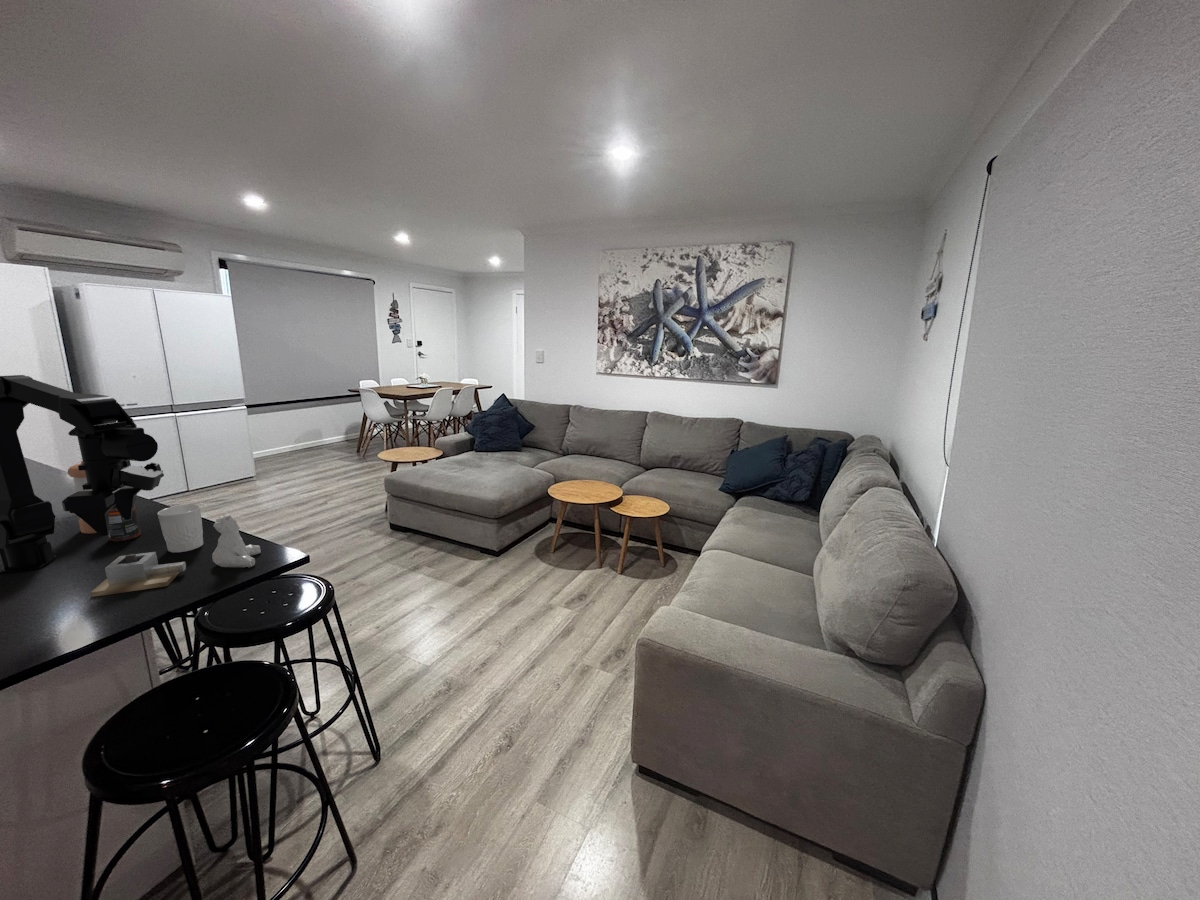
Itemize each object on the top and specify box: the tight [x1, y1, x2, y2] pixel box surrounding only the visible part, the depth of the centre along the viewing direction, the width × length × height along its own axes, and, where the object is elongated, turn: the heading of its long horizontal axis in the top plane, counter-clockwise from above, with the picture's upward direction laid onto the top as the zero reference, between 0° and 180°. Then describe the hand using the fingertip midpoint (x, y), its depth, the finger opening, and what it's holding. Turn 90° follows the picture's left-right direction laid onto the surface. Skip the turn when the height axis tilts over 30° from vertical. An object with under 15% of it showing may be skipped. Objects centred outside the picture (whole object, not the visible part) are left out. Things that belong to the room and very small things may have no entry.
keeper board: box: [90, 553, 187, 598], centre depth 100 cm, size 12×10×6 cm
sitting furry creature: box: [211, 513, 261, 568], centre depth 108 cm, size 10×9×12 cm
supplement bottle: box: [107, 503, 142, 543], centre depth 120 cm, size 6×6×11 cm
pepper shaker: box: [66, 460, 98, 534], centre depth 124 cm, size 7×7×19 cm
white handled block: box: [104, 551, 187, 586], centre depth 101 cm, size 12×6×4 cm, turn 114°
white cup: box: [156, 504, 204, 553], centre depth 116 cm, size 8×8×10 cm
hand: (116, 527), depth 100 cm, fingers open, 9 cm apart
